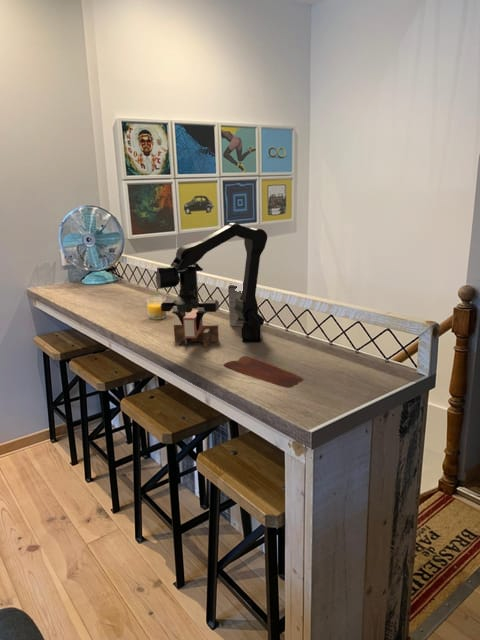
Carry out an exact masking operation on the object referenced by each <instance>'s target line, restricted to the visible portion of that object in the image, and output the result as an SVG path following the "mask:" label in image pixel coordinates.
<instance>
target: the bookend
mask: <svg viewBox="0 0 480 640" xmlns="http://www.w3.org/2000/svg"><path fill="white" fill-rule="evenodd" d="M191 342H192V341H191V338H185V340H183V341H181V342H180V343H179V344H178V345H179V346H182V347H183V346H184V347H185V346H187V347H188V346H189V344H191Z"/></svg>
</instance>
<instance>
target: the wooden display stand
mask: <svg viewBox="0 0 480 640" xmlns="http://www.w3.org/2000/svg"><path fill="white" fill-rule="evenodd" d="M173 332H174V333H173V334H174V341H175V342H176V341H177V342H180V341H181V342H182V341H183V340H185V338H184V328H183V326H182V324H181V323H174V324H173ZM219 337H220V336H219V324H217V323H215V324H209V323H208V324H205V323H203V330H202V331H201V332H200V334H199V335H198V336H197V338H191V342H203V346H204V347H208V346H210V344H211V343H213V342H215V343H216V342H219V340H220V338H219Z"/></svg>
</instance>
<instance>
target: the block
mask: <svg viewBox="0 0 480 640" xmlns="http://www.w3.org/2000/svg"><path fill="white" fill-rule="evenodd" d="M197 311H198V309H192V311H191V312H189V313H187V312H186V313H185V316H184V317H183V327H184V338H197V336H198V335H199V334H200V332H201V331H202V330H203V324H204V323H203V320H202V321H201V324H200V327H199V330H198V331H197V315H196V312H197Z"/></svg>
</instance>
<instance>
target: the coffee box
mask: <svg viewBox="0 0 480 640" xmlns="http://www.w3.org/2000/svg"><path fill="white" fill-rule="evenodd" d="M227 288H228V289H227V290H228V291H227V292H228V311H229V315H228V316H229V326H231V327H242V326H243V323H244V322H243V321H241V318H240V317H239V316H238V315H237V314H236V310H235V309H234V308H235V305H236V301H235V300H236V298H238V299H239V298H240V297H241V295H242V293H241V291H239V292H237V291H235V289H236V288H237V286H234V285H231V284H229V285H228V286H227Z"/></svg>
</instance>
